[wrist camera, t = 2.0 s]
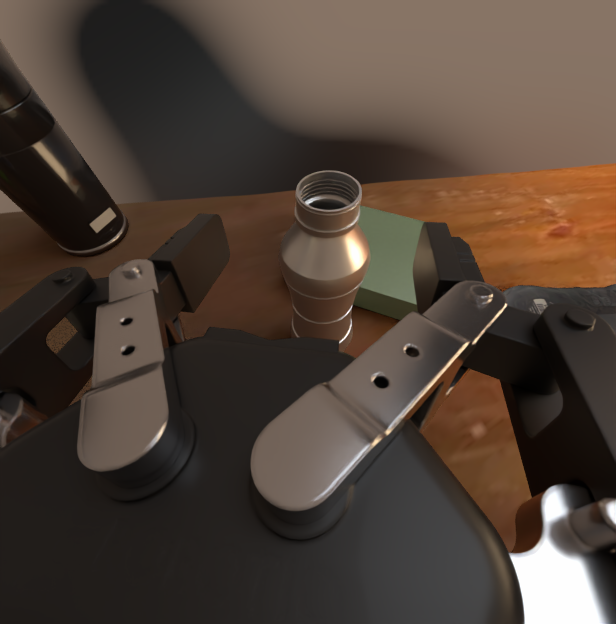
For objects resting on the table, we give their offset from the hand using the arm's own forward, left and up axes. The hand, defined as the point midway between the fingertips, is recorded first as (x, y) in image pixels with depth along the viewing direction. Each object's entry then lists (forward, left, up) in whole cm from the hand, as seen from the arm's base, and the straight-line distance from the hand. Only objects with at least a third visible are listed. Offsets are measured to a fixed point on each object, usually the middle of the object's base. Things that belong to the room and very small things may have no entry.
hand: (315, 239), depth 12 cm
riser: (0, +18, -22) cm, 28 cm away
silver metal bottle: (-1, +5, -22) cm, 23 cm away
